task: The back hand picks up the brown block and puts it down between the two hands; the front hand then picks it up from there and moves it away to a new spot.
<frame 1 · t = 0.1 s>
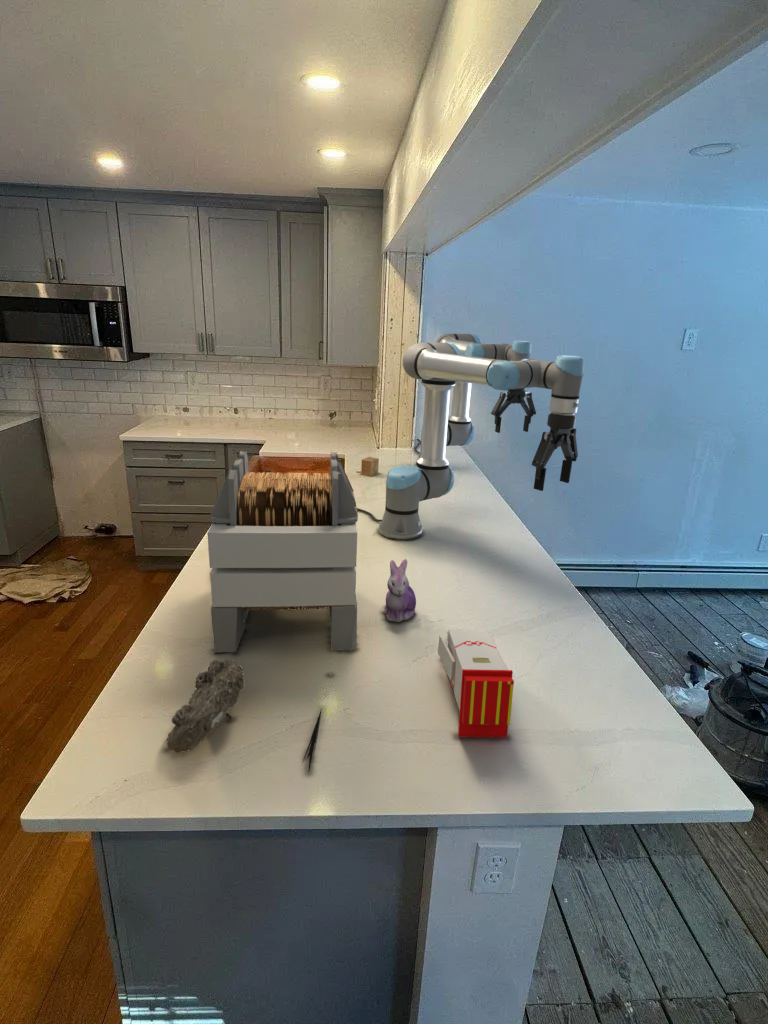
front hand: (551, 485, 166), 28 cm above the counter, tool pointing down, fingers open, 13 cm apart
back hand: (511, 431, 239), 28 cm above the counter, tool pointing down, fingers open, 13 cm apart
record storage crate: (288, 615, 144), on the counter
toy: (469, 691, 119), on the counter
feather: (319, 719, 109), on the counter
figurine: (399, 614, 147), on the counter
brown block: (369, 473, 270), on the counter
fossil: (212, 717, 108), on the counter
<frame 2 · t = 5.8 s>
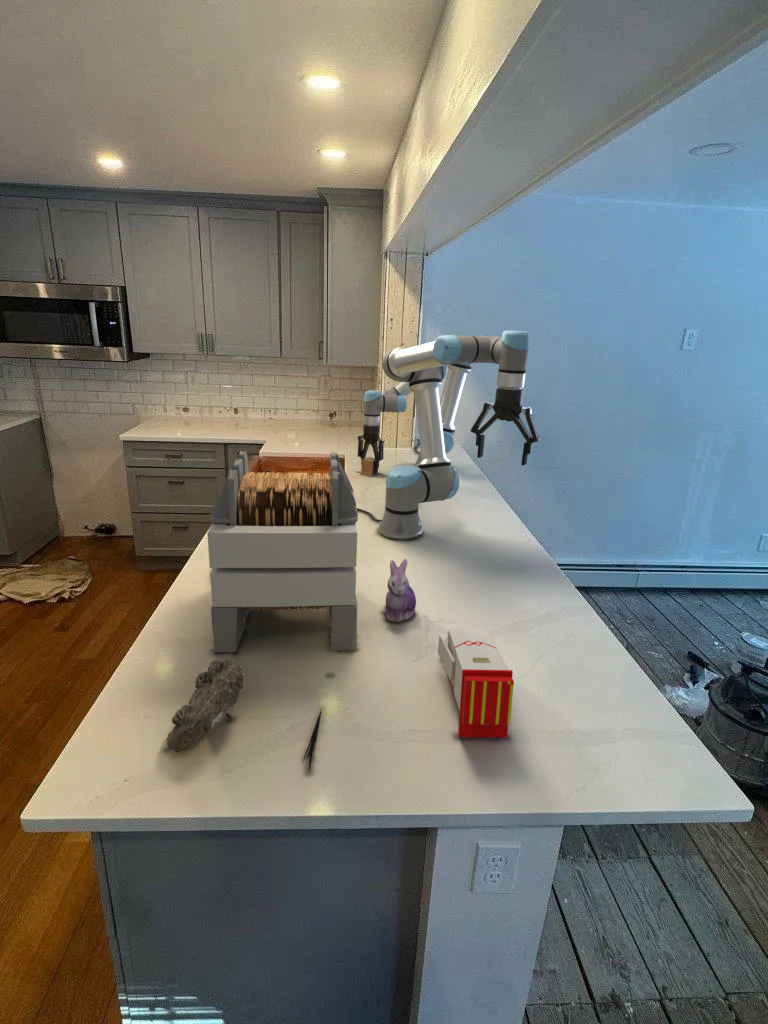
front hand: (501, 460, 168), 34 cm above the counter, tool pointing down, fingers open, 13 cm apart
back hand: (369, 472, 270), 1 cm above the counter, tool pointing down, fingers closed on brown block, 5 cm apart
brown block: (369, 473, 270), on the counter, touching back hand
everything else where it was.
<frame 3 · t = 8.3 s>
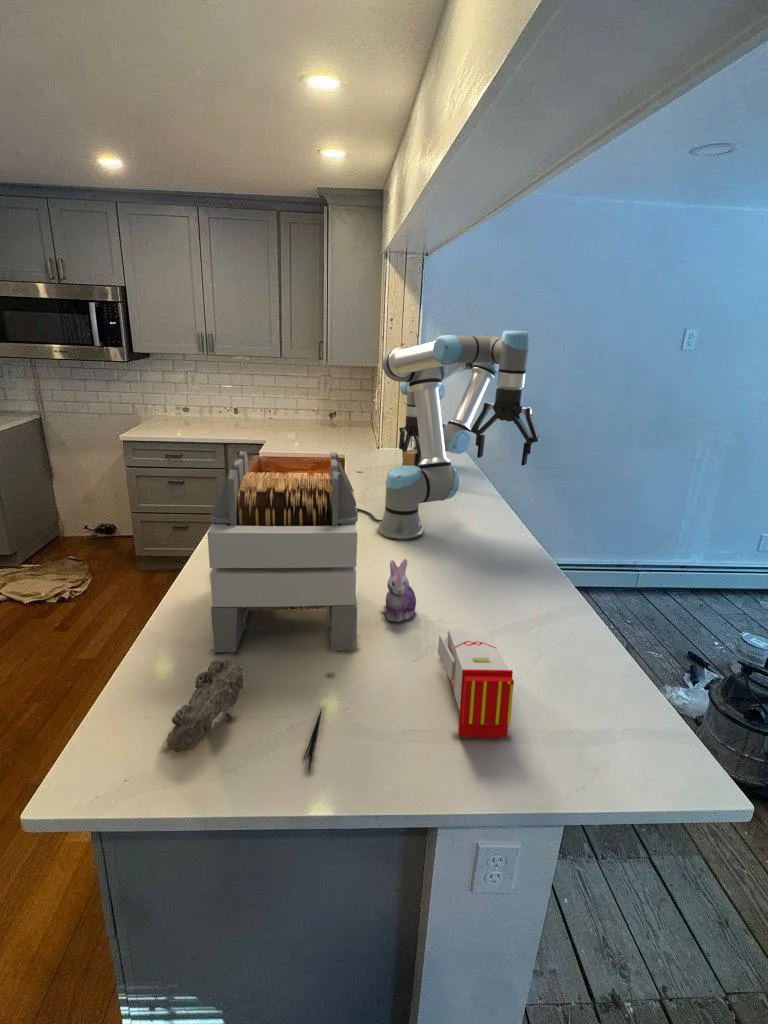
front hand: (501, 460, 168), 34 cm above the counter, tool pointing down, fingers open, 13 cm apart
back hand: (411, 466, 259), 7 cm above the counter, tool pointing down, fingers closed on brown block, 5 cm apart
brown block: (411, 467, 259), point 7 cm above the counter, touching back hand
everything else where it was.
when the back hand's fingers open (2 cm above the counter, at t = 11.2 s): brown block drops 2 cm, on the counter.
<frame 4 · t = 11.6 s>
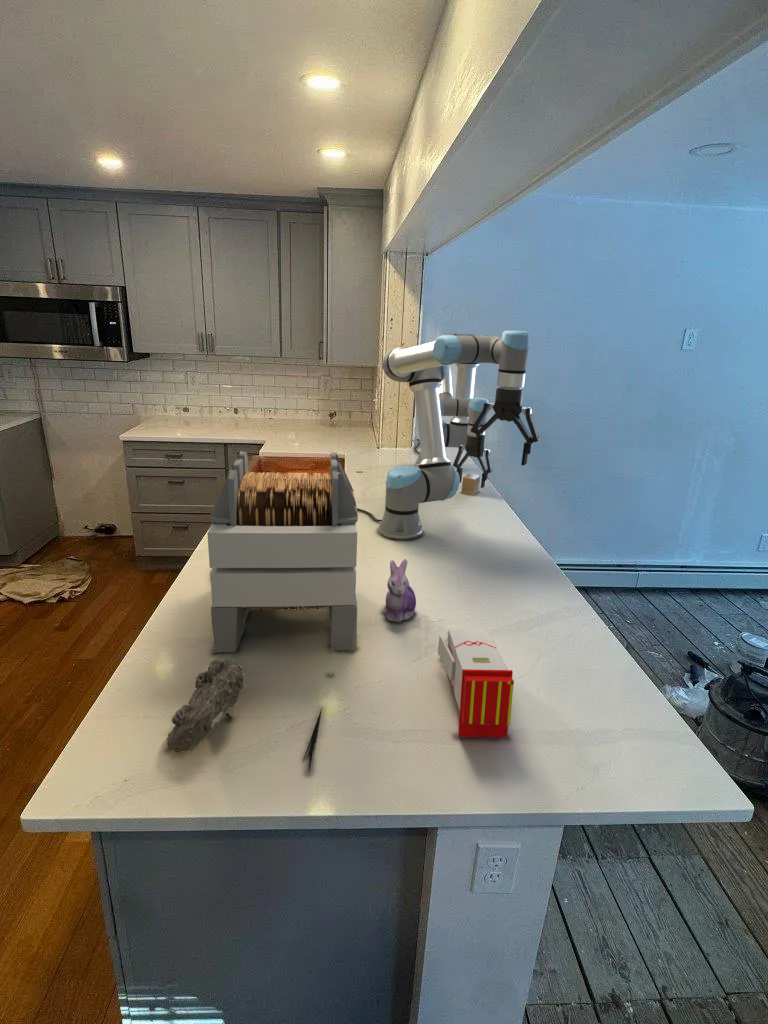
front hand: (501, 460, 168), 34 cm above the counter, tool pointing down, fingers open, 13 cm apart
back hand: (470, 485, 248), 3 cm above the counter, tool pointing down, fingers open, 10 cm apart
brown block: (470, 492, 249), on the counter
everything else where it was.
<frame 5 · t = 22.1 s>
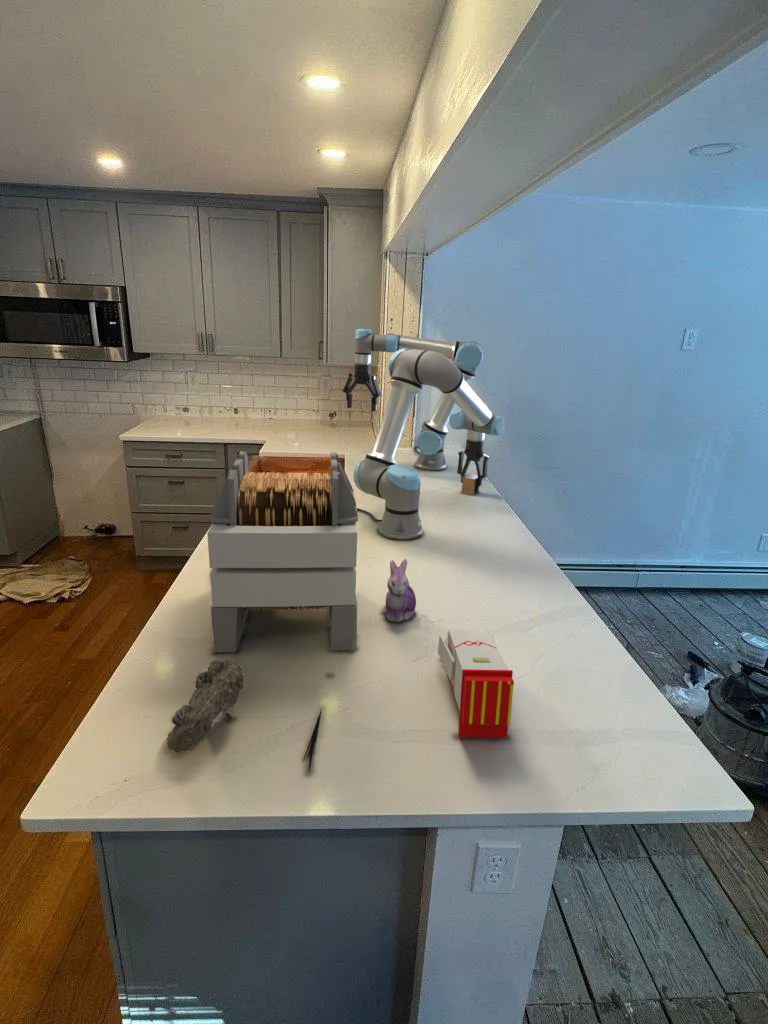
front hand: (470, 491, 249), 1 cm above the counter, tool pointing down, fingers closed on brown block, 5 cm apart
back hand: (361, 409, 271), 29 cm above the counter, tool pointing down, fingers open, 13 cm apart
brown block: (470, 492, 249), on the counter, touching front hand
everything else where it was.
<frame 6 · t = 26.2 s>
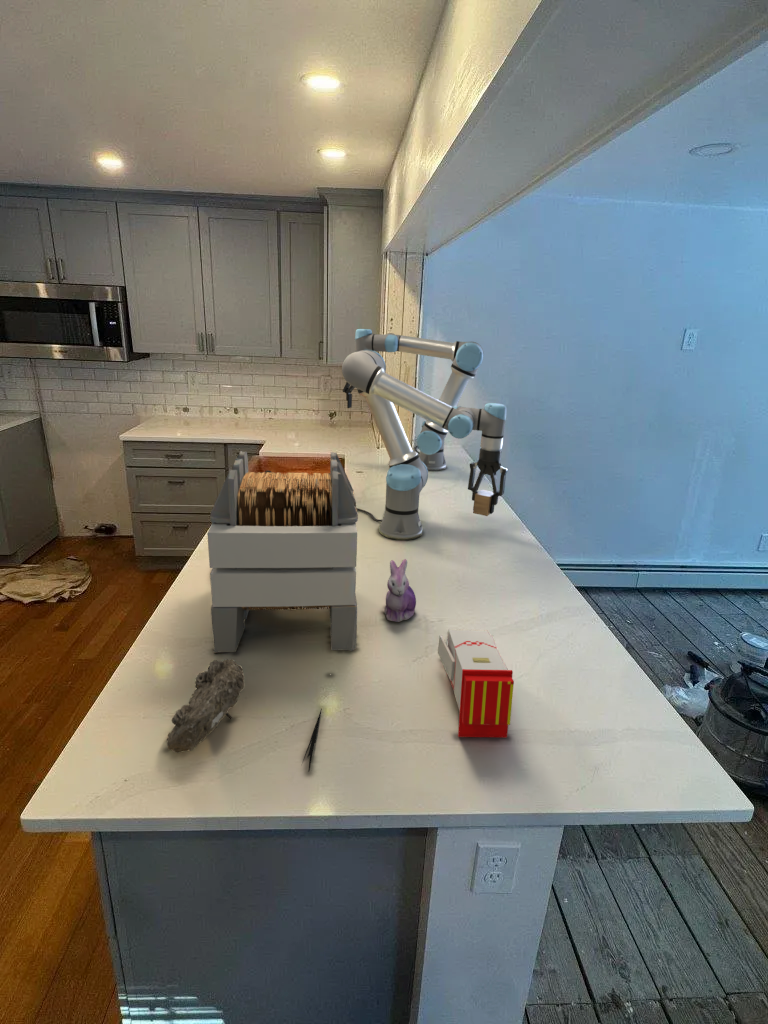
front hand: (483, 510, 206), 7 cm above the counter, tool pointing down, fingers closed on brown block, 5 cm apart
back hand: (361, 409, 271), 29 cm above the counter, tool pointing down, fingers open, 13 cm apart
brown block: (483, 512, 206), point 7 cm above the counter, touching front hand
everything else where it was.
when the front hand's fingers open (2 cm above the counter, at t = 30.4 s): brown block drops 2 cm, on the counter.
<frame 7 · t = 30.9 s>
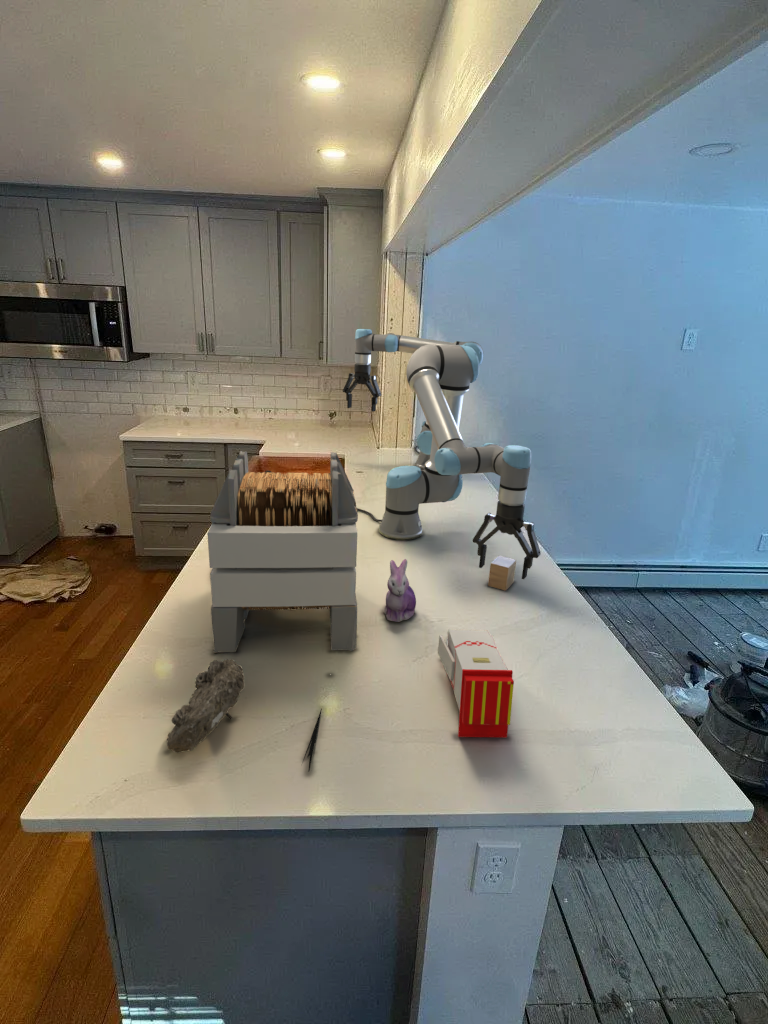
front hand: (502, 571, 165), 4 cm above the counter, tool pointing down, fingers open, 12 cm apart
back hand: (361, 409, 271), 29 cm above the counter, tool pointing down, fingers open, 13 cm apart
brown block: (500, 584, 166), on the counter
everything else where it was.
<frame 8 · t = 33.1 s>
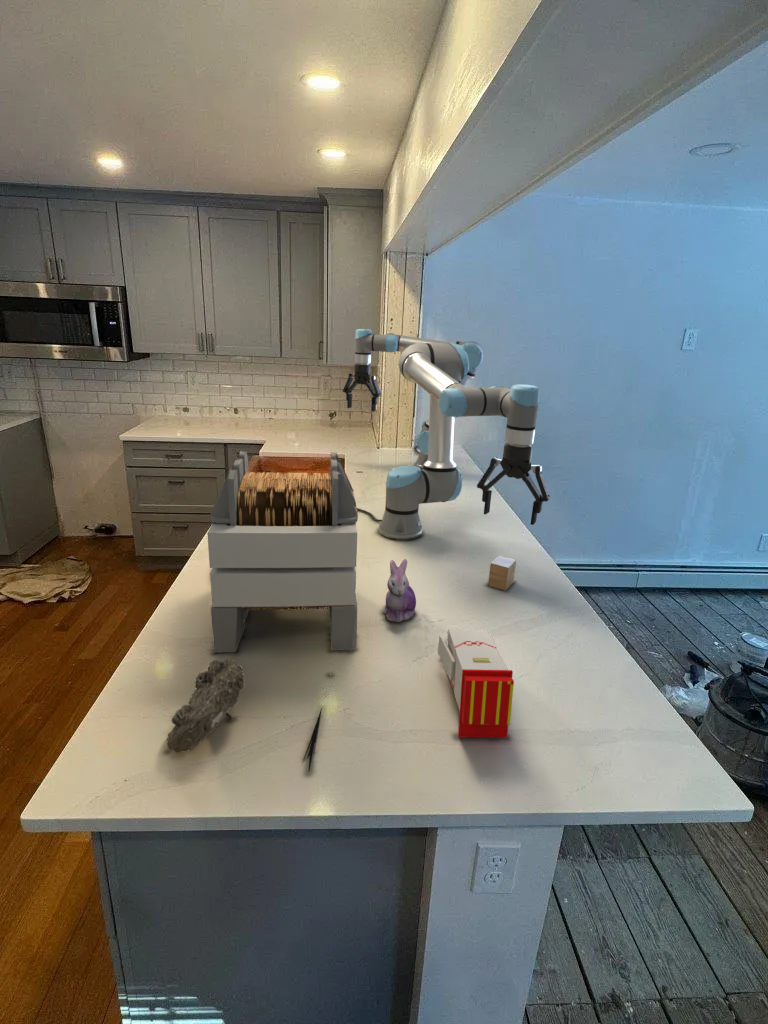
front hand: (509, 518, 159), 21 cm above the counter, tool pointing down, fingers open, 13 cm apart
back hand: (361, 409, 271), 29 cm above the counter, tool pointing down, fingers open, 13 cm apart
nothing on the counter moved.
at the end: brown block inside the target area (0.1 cm from its centre), on the counter; brown block tilted 0°; the two hands never held the brown block at the same time; the front hand is holding nothing; the back hand is holding nothing; brown block at rest at the end (0.0 cm/s) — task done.
